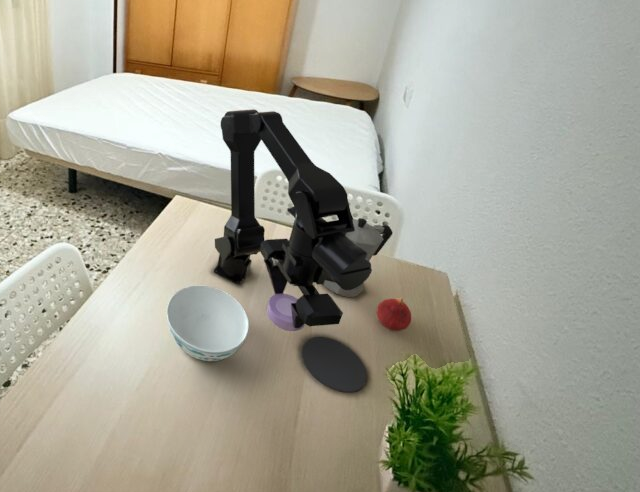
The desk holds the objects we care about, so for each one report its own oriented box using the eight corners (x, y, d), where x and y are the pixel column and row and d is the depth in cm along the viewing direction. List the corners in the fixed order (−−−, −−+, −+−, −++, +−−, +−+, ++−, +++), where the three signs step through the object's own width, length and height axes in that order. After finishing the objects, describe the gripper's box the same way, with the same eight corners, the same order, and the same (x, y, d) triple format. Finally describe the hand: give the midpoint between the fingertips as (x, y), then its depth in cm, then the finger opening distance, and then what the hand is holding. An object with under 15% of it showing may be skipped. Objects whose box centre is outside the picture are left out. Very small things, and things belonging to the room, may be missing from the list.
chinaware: (248, 329, 81) (255, 301, 78) (233, 395, 69) (240, 366, 65) (177, 302, 86) (181, 275, 83) (151, 359, 74) (154, 330, 71)
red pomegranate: (409, 342, 80) (423, 313, 76) (377, 336, 81) (390, 307, 77) (397, 318, 85) (410, 290, 81) (368, 313, 86) (379, 285, 82)
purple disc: (261, 317, 76) (263, 309, 75) (273, 295, 81) (276, 287, 80) (298, 338, 72) (301, 329, 71) (309, 313, 77) (312, 305, 76)
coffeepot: (327, 301, 88) (351, 236, 80) (303, 271, 97) (321, 209, 89) (387, 293, 91) (415, 229, 83) (358, 264, 99) (381, 203, 92)
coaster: (294, 367, 74) (294, 366, 74) (310, 327, 82) (311, 326, 82) (359, 405, 68) (360, 404, 68) (370, 359, 76) (371, 358, 76)
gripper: (386, 283, 62) (357, 351, 69) (319, 212, 79) (301, 273, 86) (319, 288, 61) (296, 357, 67) (265, 215, 77) (252, 276, 84)
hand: (287, 311), depth 76 cm, fingers closed on purple disc, 7 cm apart
